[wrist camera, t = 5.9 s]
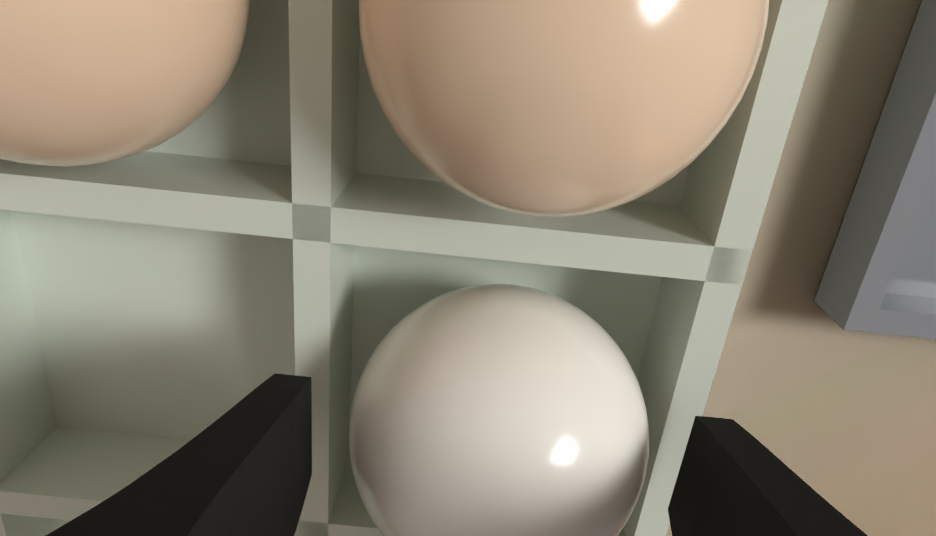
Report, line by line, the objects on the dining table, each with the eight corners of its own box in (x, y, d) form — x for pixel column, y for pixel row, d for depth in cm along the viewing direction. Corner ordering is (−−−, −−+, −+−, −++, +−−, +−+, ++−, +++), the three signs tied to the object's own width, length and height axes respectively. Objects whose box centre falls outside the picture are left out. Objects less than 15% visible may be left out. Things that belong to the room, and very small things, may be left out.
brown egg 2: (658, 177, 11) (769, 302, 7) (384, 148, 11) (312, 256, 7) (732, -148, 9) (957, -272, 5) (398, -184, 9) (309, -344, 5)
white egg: (594, 459, 14) (643, 685, 10) (371, 436, 14) (313, 652, 10) (642, 254, 12) (732, 416, 8) (381, 227, 12) (313, 372, 8)
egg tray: (581, 664, 18) (595, 768, 16) (92, 617, 18) (31, 714, 15) (809, -217, 10) (915, -286, 7) (-107, -317, 9) (-307, -419, 7)
